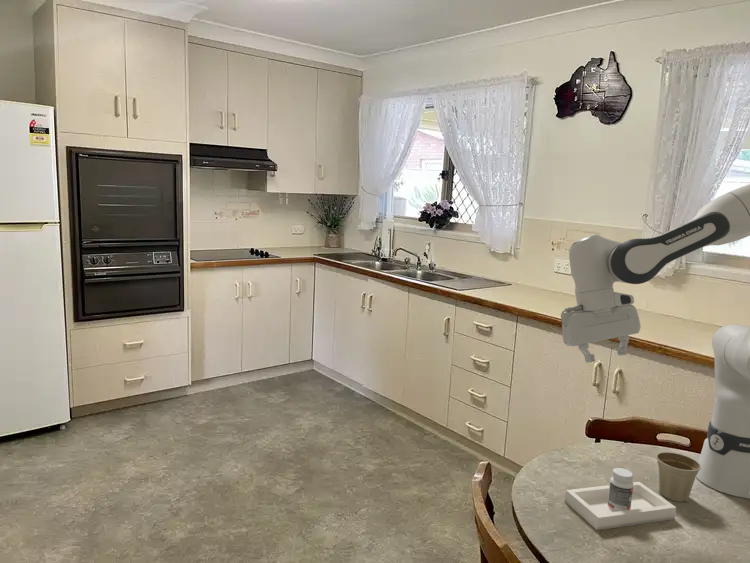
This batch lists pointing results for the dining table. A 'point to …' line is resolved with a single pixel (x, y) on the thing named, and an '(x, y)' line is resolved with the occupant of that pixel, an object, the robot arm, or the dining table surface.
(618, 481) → the pill bottle
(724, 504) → the dining table surface
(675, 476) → the flower pot
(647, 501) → the tray
